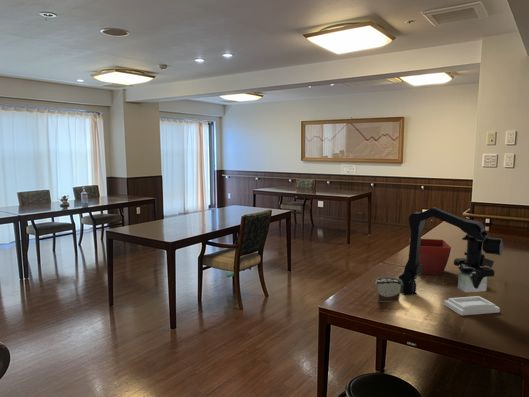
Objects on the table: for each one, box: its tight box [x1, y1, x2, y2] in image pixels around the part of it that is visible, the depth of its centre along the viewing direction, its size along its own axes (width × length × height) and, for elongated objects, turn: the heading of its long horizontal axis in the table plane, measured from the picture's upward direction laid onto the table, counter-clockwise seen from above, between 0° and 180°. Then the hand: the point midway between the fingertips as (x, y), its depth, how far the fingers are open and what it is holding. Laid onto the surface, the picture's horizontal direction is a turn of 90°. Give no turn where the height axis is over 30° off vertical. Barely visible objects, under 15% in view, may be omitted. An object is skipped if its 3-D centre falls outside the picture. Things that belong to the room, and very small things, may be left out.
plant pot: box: [408, 238, 452, 276], centre depth 225 cm, size 19×19×17 cm
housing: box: [457, 272, 488, 293], centre depth 172 cm, size 5×10×7 cm, turn 100°
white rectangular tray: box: [443, 295, 501, 316], centre depth 173 cm, size 18×12×3 cm, turn 100°
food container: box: [374, 276, 403, 303], centre depth 184 cm, size 12×6×10 cm, turn 92°
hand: (472, 286), depth 172 cm, fingers closed on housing, 5 cm apart
